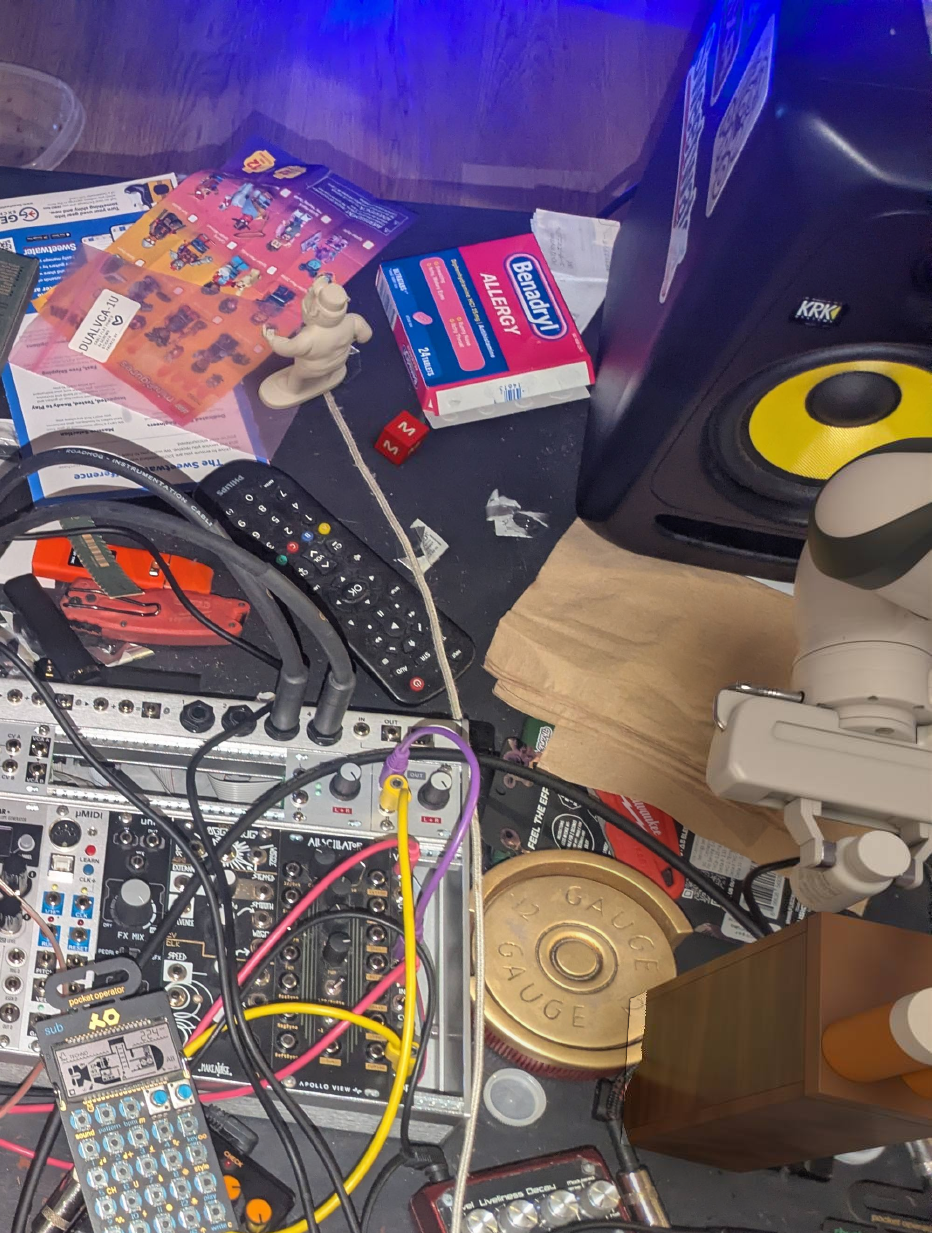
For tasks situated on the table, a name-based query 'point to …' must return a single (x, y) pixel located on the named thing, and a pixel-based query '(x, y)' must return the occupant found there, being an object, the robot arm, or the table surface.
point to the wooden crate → (742, 1068)
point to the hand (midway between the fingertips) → (861, 876)
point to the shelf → (861, 1003)
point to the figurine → (314, 348)
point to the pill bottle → (852, 872)
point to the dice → (401, 438)
